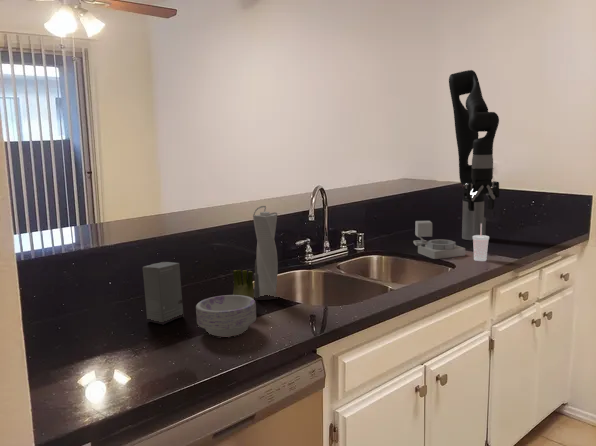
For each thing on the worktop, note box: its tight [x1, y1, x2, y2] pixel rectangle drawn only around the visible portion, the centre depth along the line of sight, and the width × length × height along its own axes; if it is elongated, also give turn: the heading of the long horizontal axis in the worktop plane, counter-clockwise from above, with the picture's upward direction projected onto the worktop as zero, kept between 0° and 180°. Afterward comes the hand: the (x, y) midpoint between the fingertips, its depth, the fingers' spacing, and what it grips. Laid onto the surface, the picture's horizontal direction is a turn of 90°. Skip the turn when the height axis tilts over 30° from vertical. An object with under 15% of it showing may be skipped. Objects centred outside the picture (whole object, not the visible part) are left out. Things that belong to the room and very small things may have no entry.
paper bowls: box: [195, 294, 257, 336], centre depth 141 cm, size 15×15×8 cm
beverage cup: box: [472, 224, 490, 262], centre depth 208 cm, size 6×6×14 cm
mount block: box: [417, 238, 466, 260], centre depth 219 cm, size 14×12×5 cm
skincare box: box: [142, 261, 184, 322], centre depth 151 cm, size 8×7×16 cm
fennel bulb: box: [232, 269, 254, 299], centre depth 157 cm, size 6×5×12 cm
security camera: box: [413, 220, 433, 247], centre depth 239 cm, size 6×7×10 cm
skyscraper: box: [252, 205, 279, 298], centre depth 168 cm, size 8×8×28 cm
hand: (481, 210), depth 206 cm, fingers open, 8 cm apart
